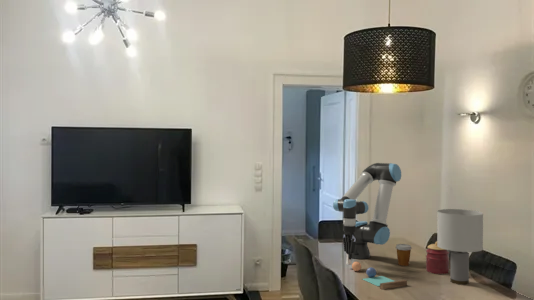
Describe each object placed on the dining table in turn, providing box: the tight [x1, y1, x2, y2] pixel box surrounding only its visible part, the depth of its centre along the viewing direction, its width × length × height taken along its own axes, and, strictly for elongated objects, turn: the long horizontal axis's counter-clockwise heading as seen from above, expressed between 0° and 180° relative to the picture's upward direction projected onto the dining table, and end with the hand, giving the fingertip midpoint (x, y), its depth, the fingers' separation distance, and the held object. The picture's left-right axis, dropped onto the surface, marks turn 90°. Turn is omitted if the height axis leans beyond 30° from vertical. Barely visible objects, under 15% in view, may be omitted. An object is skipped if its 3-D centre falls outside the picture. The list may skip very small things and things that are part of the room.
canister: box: [425, 241, 450, 275], centre depth 268 cm, size 13×13×18 cm
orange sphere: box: [351, 261, 362, 272], centre depth 269 cm, size 6×6×6 cm
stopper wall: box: [379, 279, 408, 290], centre depth 239 cm, size 2×16×2 cm, turn 114°
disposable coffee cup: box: [395, 243, 412, 267], centre depth 283 cm, size 10×10×12 cm
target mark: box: [362, 275, 395, 287], centre depth 249 cm, size 14×14×1 cm
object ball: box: [365, 266, 377, 278], centre depth 256 cm, size 6×6×6 cm
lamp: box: [436, 208, 484, 286], centre depth 247 cm, size 23×23×38 cm
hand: (348, 264), depth 275 cm, fingers closed
